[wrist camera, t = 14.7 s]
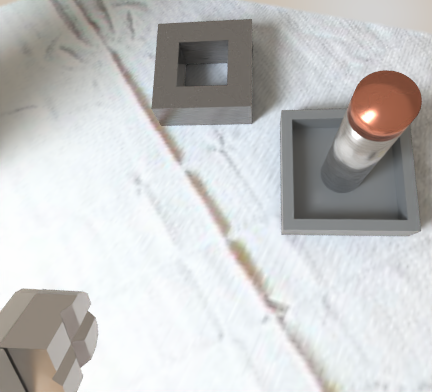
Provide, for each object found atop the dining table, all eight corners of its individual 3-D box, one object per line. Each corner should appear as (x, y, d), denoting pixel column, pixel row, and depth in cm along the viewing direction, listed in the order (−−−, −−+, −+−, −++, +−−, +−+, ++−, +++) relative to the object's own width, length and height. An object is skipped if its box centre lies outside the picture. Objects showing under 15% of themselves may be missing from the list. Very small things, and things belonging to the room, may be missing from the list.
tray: (281, 234, 38) (283, 229, 35) (280, 123, 41) (281, 110, 38) (408, 236, 37) (421, 231, 34) (397, 120, 40) (408, 107, 37)
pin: (321, 193, 38) (355, 130, 23) (319, 155, 39) (351, 72, 24) (363, 192, 37) (425, 127, 23) (360, 154, 38) (417, 68, 24)
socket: (161, 125, 43) (151, 108, 39) (167, 47, 45) (158, 23, 41) (252, 123, 41) (251, 106, 38) (252, 43, 44) (251, 19, 40)
